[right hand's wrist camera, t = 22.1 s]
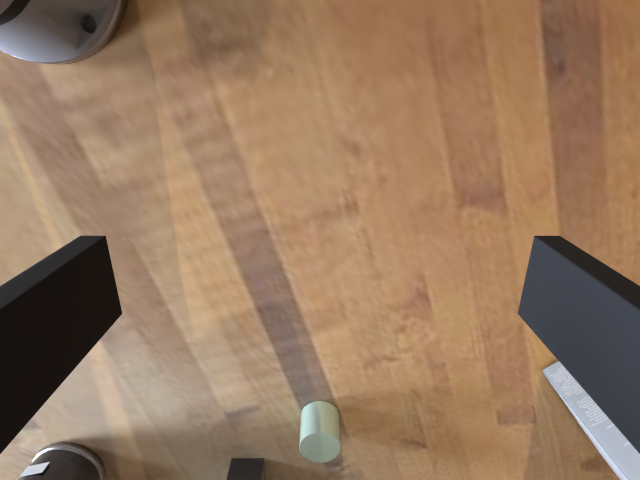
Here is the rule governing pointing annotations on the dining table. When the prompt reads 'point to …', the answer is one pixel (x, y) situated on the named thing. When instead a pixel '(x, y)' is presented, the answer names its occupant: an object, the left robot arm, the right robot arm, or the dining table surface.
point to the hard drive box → (595, 424)
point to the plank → (246, 469)
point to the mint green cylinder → (319, 432)
